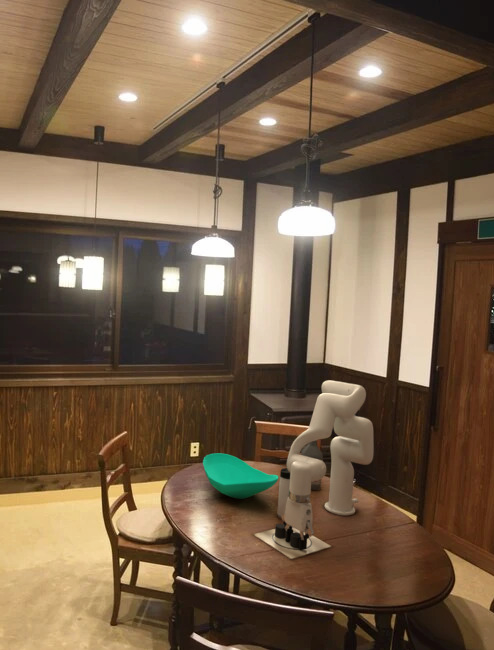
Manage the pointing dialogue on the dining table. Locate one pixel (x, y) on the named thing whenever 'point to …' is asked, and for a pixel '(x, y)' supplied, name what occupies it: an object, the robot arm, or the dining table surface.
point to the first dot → (280, 531)
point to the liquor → (315, 453)
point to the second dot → (295, 540)
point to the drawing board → (285, 547)
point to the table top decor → (236, 476)
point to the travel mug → (283, 491)
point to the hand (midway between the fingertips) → (295, 544)
